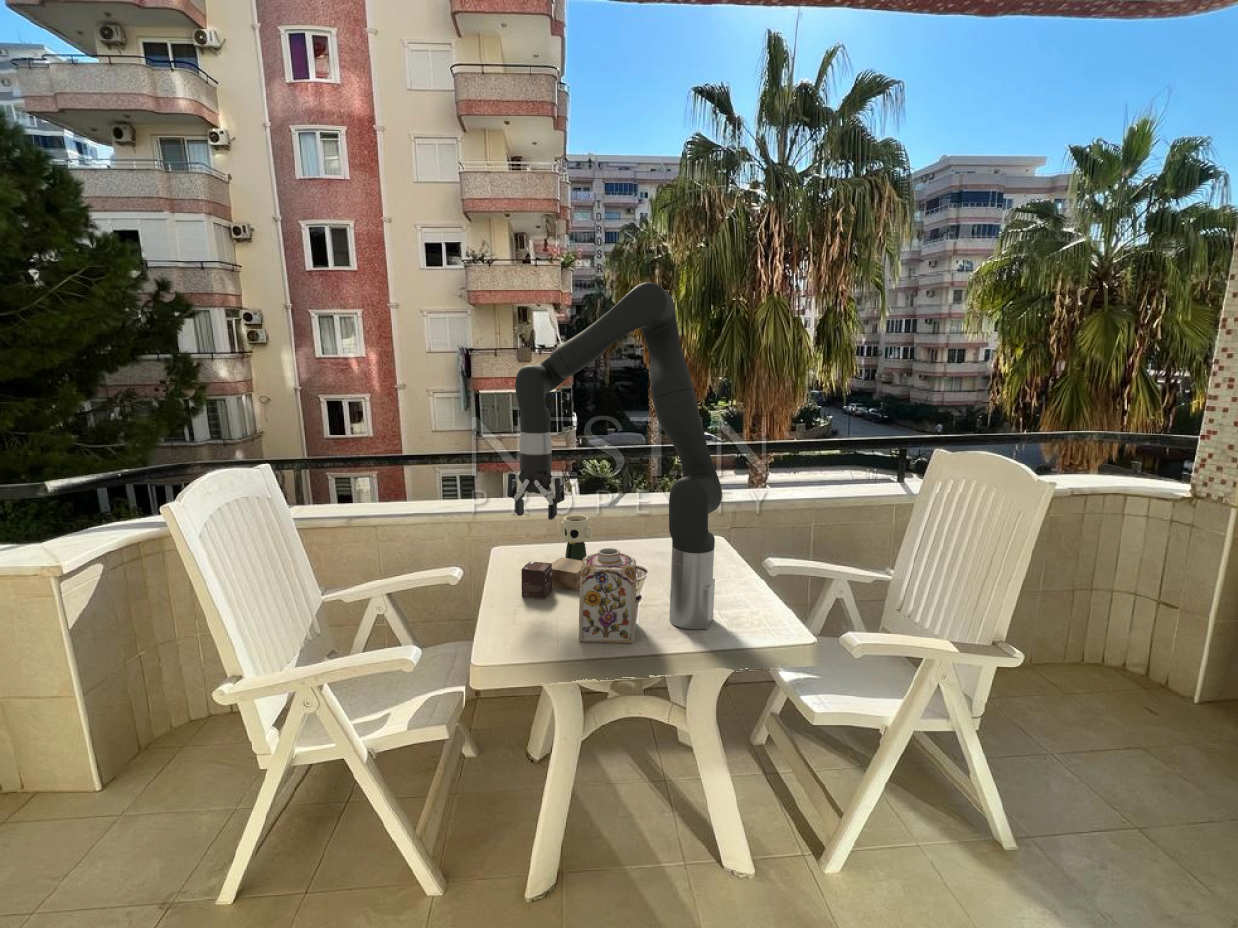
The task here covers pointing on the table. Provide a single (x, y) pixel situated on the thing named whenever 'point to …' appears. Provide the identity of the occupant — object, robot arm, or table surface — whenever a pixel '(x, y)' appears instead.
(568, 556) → the character mug
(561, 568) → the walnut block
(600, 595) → the decorative jar
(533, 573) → the box
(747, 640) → the table surface
